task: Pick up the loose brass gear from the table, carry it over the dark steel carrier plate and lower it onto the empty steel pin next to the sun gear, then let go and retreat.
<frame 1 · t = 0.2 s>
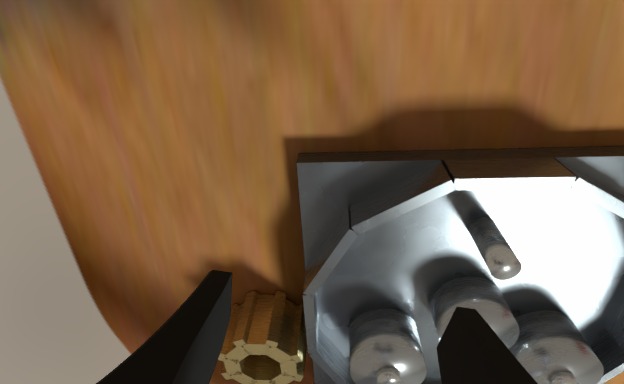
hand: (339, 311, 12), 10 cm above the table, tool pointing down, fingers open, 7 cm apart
carrier: (459, 288, 24), on the table
gear: (270, 317, 26), on the table
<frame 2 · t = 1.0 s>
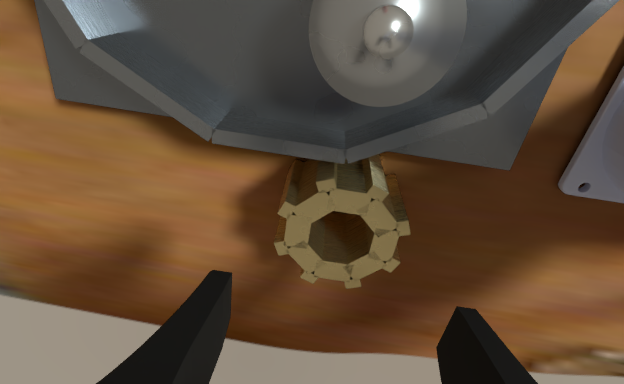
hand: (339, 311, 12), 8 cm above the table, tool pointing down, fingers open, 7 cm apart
gear: (340, 190, 18), on the table
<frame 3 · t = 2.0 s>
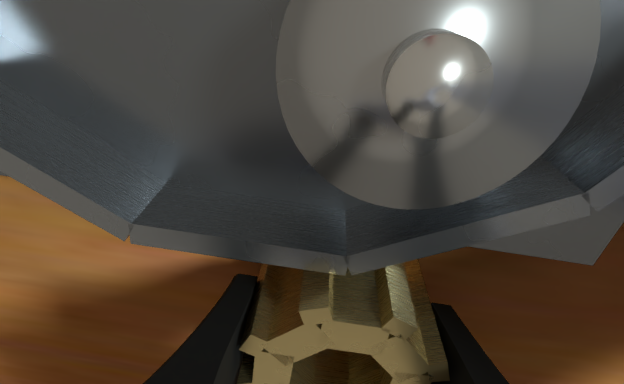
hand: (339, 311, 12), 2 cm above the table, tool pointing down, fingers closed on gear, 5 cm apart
gear: (339, 276, 13), on the table, touching gripper
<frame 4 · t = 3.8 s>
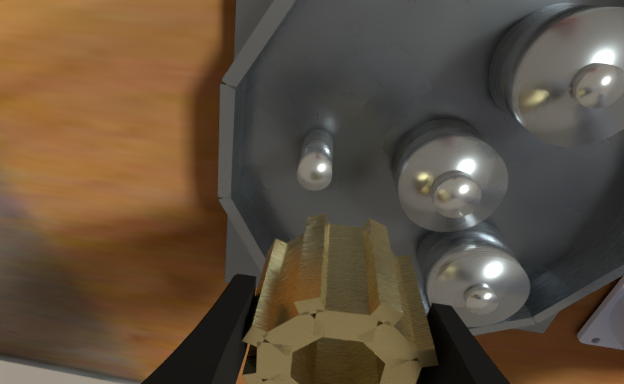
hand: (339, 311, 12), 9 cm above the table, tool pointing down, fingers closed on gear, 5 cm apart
carrier: (432, 153, 18), on the table
gear: (337, 275, 14), point 7 cm above the table, touching gripper
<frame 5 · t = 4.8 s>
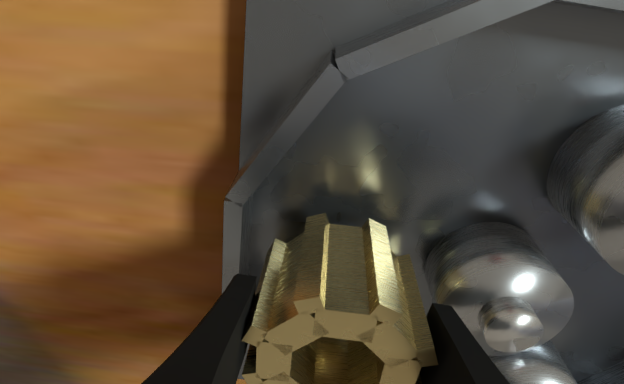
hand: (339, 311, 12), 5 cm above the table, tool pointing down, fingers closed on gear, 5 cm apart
carrier: (470, 247, 16), on the table
gear: (337, 275, 14), point 2 cm above the table, touching gripper
when the fingers open (4 cm above the table, at t = 5.5 s): gear stays where it is, resting on carrier.
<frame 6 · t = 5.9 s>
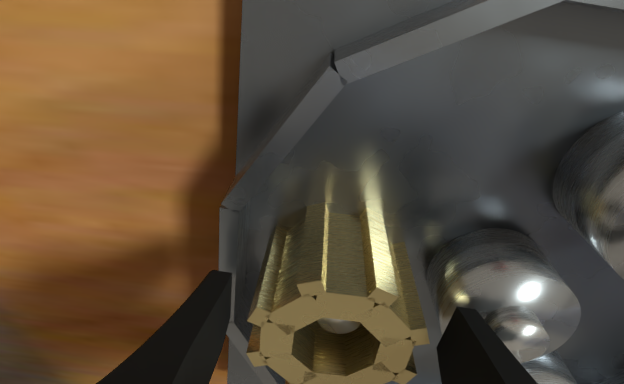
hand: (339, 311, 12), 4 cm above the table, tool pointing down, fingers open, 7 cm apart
carrier: (473, 253, 15), on the table
gear: (335, 261, 15), point 1 cm above the table, touching carrier
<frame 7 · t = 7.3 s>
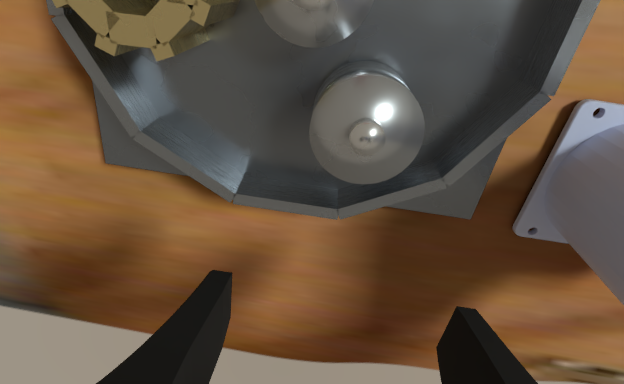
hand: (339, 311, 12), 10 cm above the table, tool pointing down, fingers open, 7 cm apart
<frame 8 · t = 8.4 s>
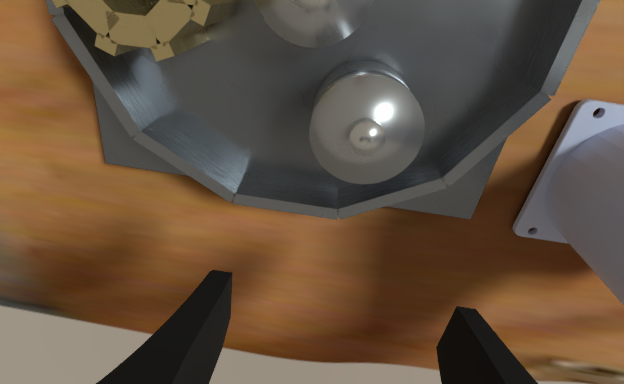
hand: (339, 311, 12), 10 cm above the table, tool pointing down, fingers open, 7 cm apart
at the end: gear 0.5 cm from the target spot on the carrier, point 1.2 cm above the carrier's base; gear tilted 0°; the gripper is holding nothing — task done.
